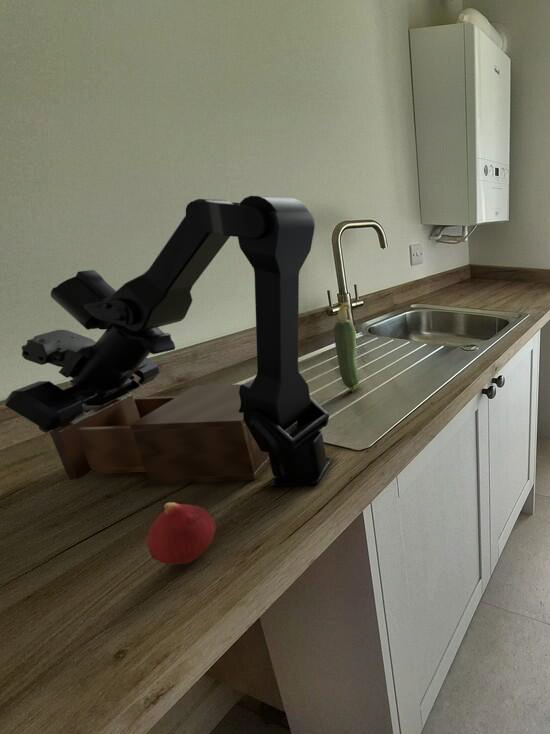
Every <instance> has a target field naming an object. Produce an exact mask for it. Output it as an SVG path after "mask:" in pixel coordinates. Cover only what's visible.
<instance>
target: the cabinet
mask: <svg viewBox="0 0 550 734" xmlns="http://www.w3.org/2000/svg"><path fill="white" fill-rule="evenodd" d="M242 384H243V383H240V384H236V383H235V384H212V385H211V384H209V385H208V384H207V385H194V386H192V387H191V388H189V389H187V390H186V391H184V392H182V393H180V394H179V395H177V396H178V397H176V398H174V399H173V400H171V401H169V402H167V403H166V404H164V405H162V406H161V407H159V408H157V409H156V410H154V411H152V412H151V413H149V414H147V415H146V416H144V417H142V418H141V419H139V420H137V421H135V422H134V423H132V424H130V427H131V430H132V433H133V436H134V439H135V442H136V445H137V447H138V450H139V453H140V456H141V459H142V462H143V465H144V468H145V471H146V472H145V474H146V477H147V479H148V483H149V485H169V484H191V483H211V482H213V483H214V482H233V481H252V480H253V481H254V480H256V479H257V478H258V477H259V476H260V474H262V472H263V471H264V470H265V469H266V467H267V466H268V465H269V464H270V459H269V455H268V452H262V451H261V450H260V448H259V446H258V445H257V443H256V441H255V439H254V438H253V436H252V434H251V432H250V431H249V429H248V427H247V426H246V424H245V422H244V418H243V412H242V413H240V412H239V409H240V407H241V399H240V395H239V389H240V386H241V385H242ZM291 426H292V425H291ZM291 426H290V427H291ZM288 428H289V427H288ZM288 428H287V429H288ZM284 431H285V430H284Z"/></svg>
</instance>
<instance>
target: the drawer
mask: <svg viewBox="0 0 550 734" xmlns="http://www.w3.org/2000/svg"><path fill="white" fill-rule="evenodd" d="M178 396H179V395H173V396H145V397H143V396H142V397H136V398H134V395H133V394H125V395H123V396H121V397H119V398H117V399H115V400H113V401H110V402H108V403H106V404H104V405H94V406H88V405H87V404H85V403H84V406H83V409H84V410H83V411H82V412H83V413H85V412H86V411H88V410H91V411H89V412H87V413H85V415H84V416H82V417H80V418H78V419H76V420H74V421H72V422H70V423H68V424H65V425H63V426H61V427H59V428H57V429H55V430H52V431H50V432H49V434H50V437H51V439H52V442H53V444H54V446H55V449H56V452H57V454H58V456H59V459H60V461H61V463H62V467H63V469H64V471H65V474H66V476H67V478H68V480H69V481H79V480H81V478H83V477H85V476H86V475H88V474H89V473H92V475H101V474H120V473H122V474H123V473H141V472H142V473H144V472H145V473H146V471H145V468H144V465H143V462H142V459H141V456H140V453H139V450H138V447H137V445H136V442H135V439H134V436H133V433H132V430H131V427H130V424H132V423H134V422H135V421H137V420H139V419H141V418H142V417H144V416H146V415H147V414H149V413H151V412H152V411H154V410H156V409H157V408H159V407H161V406H162V405H164V404H166V403H167V402H169V401H171V400H173V399H174V398H176V397H178Z"/></svg>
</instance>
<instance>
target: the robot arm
mask: <svg viewBox="0 0 550 734" xmlns="http://www.w3.org/2000/svg"><path fill="white" fill-rule="evenodd" d="M315 224H316V223H315V218H314V215H313V213H312V212H311V211H310V210H309V208H308V207H307V206H306V204H304V203H303V202H302V201H301V200H299V199H297V198H294V197H283V196H282V197H280V196H265V195H264V196H263V195H249V196H246V197H244V198H243V199H242V200H241V201H240V202H233V201H231V200H226V199H211V198H196V199H194V200H193V201H190V202H189V203H188V204H187V205H186V207H185V215H184V217H183V219H182V220H181V221H180V223H179V224H178V226H177V227H176V229H175V230H174V232H172V235H171V236H170V237H169V238H168V240H167V241H166V243H165V244H164V246H163V247H162V249H161V250H160V252H159V253H158V254H157V256H156V258H155V259H154V261H152V264H151V265H150V266H149V268H148V269H147V270H146V271H145V272H143V273H142V274H141V275H138V276H136V277H135V278H133V279H130V280H128V281H127V282H125V283H124V284H123V285H122V286H120V287H119V288H118V289H117V290H116V289H115V288H114V287H112V286H111V285H110V284H109V283H108V282H107V281H106V280H105V279H104V278H103V276H102V275H101V274H100V273H99V272H97V270H95V269H89V270H80V271H79V270H78V271H77V273H76V275H75V276H73V277H70V278H68V279H65V280H63V281H61V282H60V283H59V284H58V285H56V286H55V287H52V288H51V291H50V298H51V299H52V300H53V301H55V302H56V303H57V304H58V305H59V306H60V307H61V308H62V309H64V310H65V311H66V312H67V313H68V314H69V315H70V316H71V317H73V319H74V320H76V322H78V323H79V324H80V325H81V326H83V328H84V329H86V330H88V331H90V330H97V329H99V330H105V331H104V332H103V333H102V334H101V336H100V337H99V338H98V340H97V341H95V340H94V339H93V338H91V337H90V338H89V337H88V336H84V335H82V334H79V333H77V332H73V331H70V330H68V329H56V330H52V331H48V332H44V333H41V334H36V335H35V336H33V337H32V338H30V339H27V340H26V343H25V344H24V345H22V346H21V350H22V352H21V356H22V358H23V359H25V360H26V361H29V362H32V363H35V364H37V365H41V366H44V365H46V364H50V365H53V366H56V367H59V368H61V369H60V370H59V371H58V374H60V375H62V376H63V377H65V378H67V379H68V378H71V379H70V380H69V381H68V384H69V385H71V386H70V387H68V388H65V389H62V388H60V387H59V386H58V385H56V384H55V383H53V382H51V381H50V380H39V381H35V382H34V383H30V384H29V385H25V386H23V387H20V388H17V389H15V390H12V391H11V392H10V393H9V395H8V396H7V397H6V399H5V400H4V406H6V408H8V409H10V410H11V411H13V412H15V413H17V414H18V415H20V417H21V416H22V417H23V418H25V419H26V420H28V421H30V422H31V423H33V424H35V425H37V426H38V429H39V430H40V431H41V432H43V433H44V434H47V433H50V432H51V431H53V430H55V429H57V428H59V427H61V426H63V425H65V424H68V423H70V422H72V421H74V420H76V419H78V418H80V417H82V416H84V415H85V414H87V413H89V412H91V411H92V410H88V411H86V412H84V413H83V412H82V411H83V410H84V409H83V406H84V403H85V404H87V405H88V406H94V405H105V404H107V403H109V402H111V401H113V400H115V399H117V398H119V397H121V396H123V395H128V394H129V393H131V392H133V391H135V390H138V389H139V388H140V387H141V386H144V385H146V384H148V383H150V382H152V381H154V380H155V379H156V377H157V376H158V375H159V374H160V369H159V365H157V364H156V363H155V362H153V361H152V360H150V359H149V358H148V356H149V355H150V354H151V355H156V354H162V353H166V352H172V351H174V350H176V346H175V342H174V341H173V340H172V336H171V333H170V332H164V331H162V329H160V328H161V327H164V326H168V325H171V324H176V323H179V322H182V321H183V320H184V319H185V317H186V316H187V315H188V312H189V310H190V307H191V305H192V303H193V296H192V293H191V291H192V288H193V287H194V285H195V284H196V282H197V281H198V280H199V279H200V277H201V276H202V275H203V274H204V272H205V271H206V269H207V268H208V267H209V265H210V264H211V263H212V261H213V260H214V259H215V257H216V256H217V255H218V254H219V252H220V251H221V249H222V248H223V247H224V245H225V244H226V243H227V241H228V240H229V239H230V237H235V238H236V237H237V241H238V246H239V249H240V250H241V252H242V253H243V255H244V256H245V258H246V259H247V260H248V262H249V264H250V265H251V267H252V269H253V273H254V274H253V275H254V294H255V295H254V301H255V302H254V303H255V306H254V307H255V335H256V336H255V337H256V339H255V340H256V368H257V369H256V371H257V373H256V375H255V377H254V378H252V379H251V380H248V381H246V382H245V383H241V384H242V385H241V386H240V389H239V395H240V399H241V407H240V409H239V412H240V413H242V412H243V418H244V422H245V424H246V426H247V427H248V429H249V431H250V432H251V434H252V436H253V438H254V439H255V441H256V443H257V445H258V446H259V448H260V450H261V451H262V452H268V455H269V459H270V463H269V464H270V468H271V473H272V476H273V477H274V479H273V481H271V487H272V488H285V487H307V486H317V485H318V484H319V483H320V481H321V480H322V478H323V477H324V474H325V473H326V471H327V469H328V468H329V467H330V464H331V463H332V461H333V460H332V457H327V454H326V449H325V442H324V437H323V431H321V430H322V429H323V428H325V427H327V426H328V423H329V419H330V414H329V413H328V412H327V411H326V410H325V409H324V408H323V407H322V406H320V405H319V403H317V401H315V400H314V399H313V398H312V397H311V395H310V388H309V384H308V382H307V381H306V379H305V378H304V377H303V375H302V374H301V372H300V370H299V308H300V307H299V304H300V303H299V302H300V301H299V300H300V297H299V295H300V293H299V291H300V290H299V289H300V286H299V285H300V272H301V269H302V267H303V265H304V264H305V261H306V260H307V258H308V256H309V255H310V252H311V250H312V245H313V241H314V239H313V238H314V235H315V226H316V225H315ZM134 375H135V376H137V377H139V380H138V381H136V380H134V379H135V376H134ZM291 425H292V426H291ZM290 426H291V427H290ZM288 427H289V428H288ZM287 428H288V429H287ZM284 430H285V431H284Z"/></svg>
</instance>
